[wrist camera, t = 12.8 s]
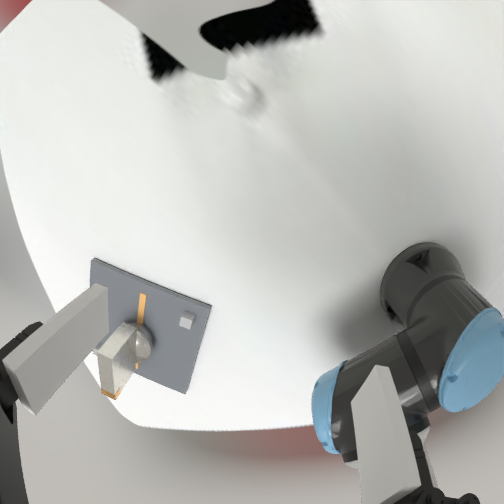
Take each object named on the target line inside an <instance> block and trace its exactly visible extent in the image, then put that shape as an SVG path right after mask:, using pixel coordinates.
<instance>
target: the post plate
mask: <svg viewBox="0 0 504 504" xmlns="http://www.w3.org/2000/svg"><path fill="white" fill-rule="evenodd" d="M95 283H97V284H100V285H102V286H105V287H107V288H108V317H109V333H108V334H107V335H106V336H105V337H104V338H103V339H102V340H101V341H100V342H99V343H98V345H97V346H96V347H95V348H94V349H93V350H92V351H93V354H95V355H97V351H98V350H99V349H100V348H101V347H102V345H103V344H104V343H105V342H106V341H107V340H108V339H109V337H110V336H111V335H112V334H113V332H114V331H115V330H116V329H117V328H118V327H119V326H120V325H121V324H122V323H123V322H125V323H128V324H133V325H135V326H137V327H139V328H141V329H142V330H143V331H144V332H145V333H146V334H147V335H148V336H149V338H150V339H151V342H152V345H153V350H152V353H151V354H150V356H149V357H148V359H147V360H146V361H145V362H143V363H139V364H138V363H136V369H135V371H134V373H136V374H138V375H141V376H143V377H145V378H147V379H149V380H152V381H154V382H156V383H159V384H161V385H163V386H166V387H168V388H171V389H173V390H176V391H178V392H181V393H183V394H186V392H187V389H188V385H189V382H190V378H191V374H192V371H193V367H194V364H195V360H196V357H197V353H198V350H199V346H200V343H201V339H202V336H203V332H204V329H205V325H206V322H207V319H208V315H209V312H210V308H211V306H210V305H207V304H205V303H202V302H199V301H197V300H194V299H191V298H189V297H186V296H184V295H181V294H178V293H176V292H173V291H171V290H168V289H166V288H163V287H161V286H158V285H156V284H153V283H151V282H149V281H146V280H144V279H141V278H139V277H137V276H134V275H132V274H129V273H127V272H125V271H123V270H120V269H118V268H116V267H113V266H111V265H109V264H107V263H104V262H102V261H100V260H98V259H95V258H94V259H92V260H91V270H90V287H91V286H92V285H94V284H95Z"/></svg>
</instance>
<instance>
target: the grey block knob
mask: <svg viewBox="0 0 504 504" xmlns="http://www.w3.org/2000/svg"><path fill="white" fill-rule="evenodd" d="M152 350H153V345H152V342H151V339H150V338H149V336H148V335H147V334H146V333H145V332H144V331H143V330H142V329H141V328H139V327H137V326H135V325H133V324H128V323H125V322H123V323H122V324H121V325H120V326H119V327H118V328H117V329H116V330H115V331H114V332H113V334H112V335H111V336H110V337H109V339H108V340H107V341H106V342H105V343H104V344H103V345H102V347H101V348H100V349H99V350H98V351H97V356H98V366H99V374H100V382H101V391H102V394H104V395H106V396H108V397H110V398H112V399H114V400H116V399H117V397H118V396H119V394H120V392H121V391H122V389H123V388H124V386H125V384H126V383H127V381H128V380H129V378H130V377H131V375H132V374H133V372H134V371H135V369H136V363H138V364H139V363H143V362H145V361H146V360H147V359H148V357H149V356H150V354H151V353H152Z"/></svg>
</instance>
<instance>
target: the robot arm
mask: <svg viewBox="0 0 504 504" xmlns="http://www.w3.org/2000/svg"><path fill="white" fill-rule="evenodd" d="M380 295H381V302H382V305H383V308H384V310H385V312H386V314H387V316H388V317H389V319H390V320H391V321H392V322H393V323H394V324H395V325H397V326H398V327H400V328H401V329H402V330H403V331H402V332H400V333H398V334H397V335H395V336H393V337H391V338H390V339H388V340H386V341H384V342H383V343H381V344H379V345H377V346H375V347H374V348H372V349H370V350H368V351H366V352H364V353H363V354H361V355H359V356H357V357H355V358H353V359H351V360H349V361H347V360H346V361H344V362H342V363H341V364H340V365H339V366H337V367H336V368H334V369H332V370H330V371H328V372H326V373H325V374H323V375H322V376H321V377H320V378H319V379H318V380H317V382H316V384H315V386H314V390H313V393H312V404H311V405H312V417H313V423H314V427H315V431H316V434H317V437H318V439H319V441H321V442H322V446H323V447H324V449H325V450H326V451H327V452H329V453H333V454H340V453H341V454H342V457H343V460H344V463H345V465H347V466H350V467H352V468H354V469H357V470H359V476H360V488H361V504H480V502H479V499H478V498H477V497H476V495H474V494H471V493H467V494H465V495H463V496H462V497H460V498H459V499H456V498H449V497H445V495H444V493H443V492H442V491H441V490H440V489H439V488H438V485H437V481H436V478H435V475H434V472H433V469H432V465H431V463H430V459H429V456H428V454H427V451H426V448H425V439H426V437H427V435H428V433H429V430H430V428H431V425H430V423H429V420H428V418H427V414H428V413H430V412H432V411H434V410H435V409H437V408H439V407H441V406H442V408H444V409H446V410H447V411H449V412H459V411H460V410H461V409H462V410H466V409H469V408H471V407H472V406H474V405H475V404H477V403H479V402H480V401H481V400H482V399H484V398H485V397H486V396H487V395H488V394H489V393H490V392H491V391H492V390H493V389H494V388H495V387H496V385H497V384H498V383H499V382H500V380H501V379H502V377H503V376H504V319H503V318H502V315H501V313H500V312H499V311H498V310H497V309H496V308H494V307H493V306H492V305H491V304H490V303H489V302H488V301H487V300H486V299H485V298H484V297H483V296H482V295H481V294H480V293H478V292H477V291H476V290H475V289H474V288H473V287H472V286H471V285H470V284H469V283H468V282H467V281H466V280H465V277H464V274H463V272H462V269H461V267H460V264H459V262H458V261H457V259H456V258H455V256H454V255H453V254H452V253H451V252H449V251H448V250H447V249H445V248H444V247H442V246H441V245H438V244H435V243H421V244H417V245H414V246H412V247H410V248H408V249H406V250H405V251H403V252H402V253H400V254H399V255H398V256H397V257H396V258H395V259H394V260H393V262H392V263H391V264H390V266H389V267H388V269H387V271H386V272H385V275H384V277H383V280H382V284H381V291H380ZM108 333H109V317H108V288H107V287H105V286H102V285H100V284H97V283H95V284H94V285H92V286H91V287H90V288H88V289H87V290H86V291H84V292H83V293H82V294H81V295H79V296H78V297H77V298H75V299H74V300H73V301H72V302H70V303H69V304H68V305H67V306H65V307H64V308H63V309H62V310H60V311H59V312H58V313H57V314H55V315H54V316H53V317H52V318H50V319H49V320H48V321H47V322H46V323H44V324H42V323H41V322H36V323H34V324H31V325H29V326H28V327H26V328H25V329H24V330H23V331H22V332H21V333H19V334H18V335H17V336H16V338H13V339H12V340H11V341H10V342H9V343H7V344H6V345H5V346H4V347H3V348H1V349H0V504H29V502H28V498H27V494H26V489H25V484H24V478H23V472H22V467H21V459H20V452H19V442H18V429H17V408H16V403H15V401H16V400H17V399H18V398H19V400H20V402H21V404H22V406H23V407H25V408H26V409H27V410H28V411H30V412H31V413H32V414H34V415H37V413H38V412H39V411H40V410H41V409H42V407H43V406H44V405H45V404H46V403H47V401H48V400H49V399H50V398H51V397H52V395H53V394H54V393H55V392H56V391H57V390H58V388H59V387H60V386H61V385H62V384H63V382H65V380H66V379H67V378H68V377H69V376H70V375H71V373H72V372H73V371H74V370H75V369H76V368H77V367H78V366H79V364H80V363H81V362H82V361H83V360H84V359H85V358H86V357H87V356H88V354H89V353H90V352H91V351H92V350H93V349H94V348H95V347H96V346H97V345H98V343H99V342H100V341H101V340H102V339H103V338H104V337H105V336H106V335H107V334H108Z"/></svg>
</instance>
